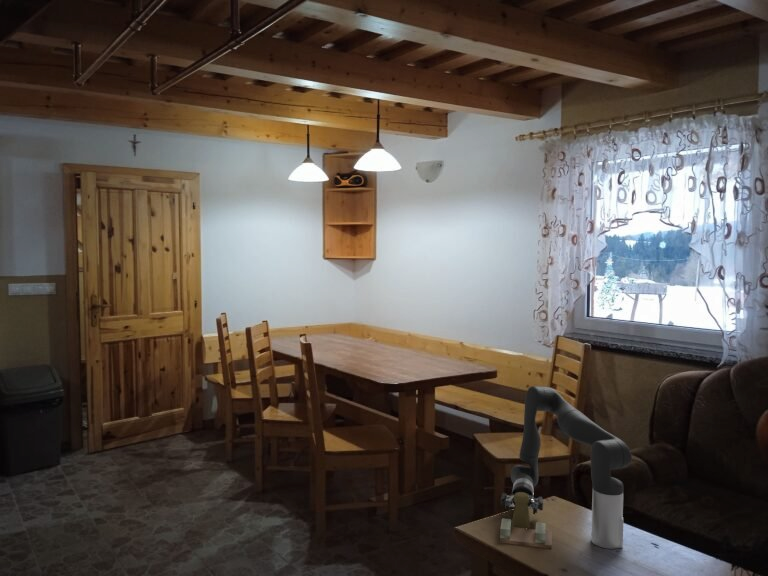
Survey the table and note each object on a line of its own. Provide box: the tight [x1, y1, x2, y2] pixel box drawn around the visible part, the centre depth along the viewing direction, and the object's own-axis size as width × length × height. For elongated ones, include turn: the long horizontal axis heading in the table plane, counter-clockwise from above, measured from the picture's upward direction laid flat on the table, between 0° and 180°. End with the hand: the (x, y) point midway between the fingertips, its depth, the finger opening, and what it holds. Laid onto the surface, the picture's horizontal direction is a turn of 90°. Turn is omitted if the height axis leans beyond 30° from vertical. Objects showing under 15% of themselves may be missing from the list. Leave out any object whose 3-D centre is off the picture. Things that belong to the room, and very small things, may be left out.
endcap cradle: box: [499, 517, 553, 549], centre depth 201 cm, size 16×10×4 cm, turn 75°
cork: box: [511, 492, 531, 529], centre depth 210 cm, size 6×6×11 cm
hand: (521, 510), depth 208 cm, fingers open, 8 cm apart
